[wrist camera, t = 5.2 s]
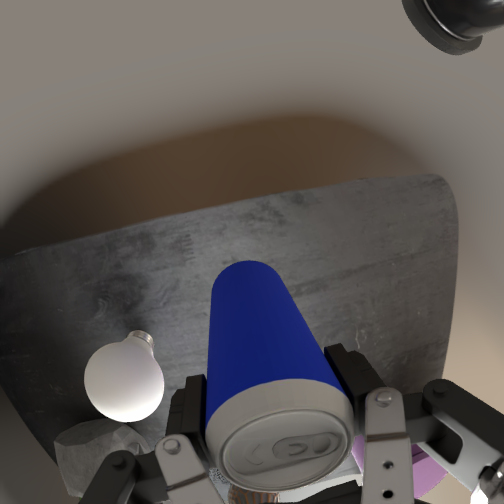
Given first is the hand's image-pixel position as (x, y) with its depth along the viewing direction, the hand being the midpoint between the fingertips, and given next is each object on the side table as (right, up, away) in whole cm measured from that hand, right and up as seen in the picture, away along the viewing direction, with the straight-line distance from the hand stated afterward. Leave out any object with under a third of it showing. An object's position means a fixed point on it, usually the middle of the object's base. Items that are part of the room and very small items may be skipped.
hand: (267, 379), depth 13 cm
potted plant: (-18, -19, +21) cm, 33 cm away
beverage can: (-1, +2, +10) cm, 11 cm away
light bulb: (-12, -3, +17) cm, 21 cm away
